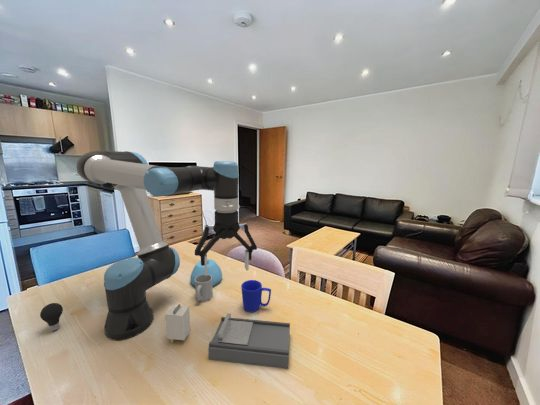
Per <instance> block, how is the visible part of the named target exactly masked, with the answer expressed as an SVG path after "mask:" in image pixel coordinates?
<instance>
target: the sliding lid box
mask: <svg viewBox="0 0 540 405" xmlns="http://www.w3.org/2000/svg"><path fill="white" fill-rule="evenodd" d="M225 317H226V316H221V318H220V323H219V325H218V327H217V328H216V331H215V333H214V335H213V337H212V338H211V341H209V343H208V349H207V350H208V351H207V352H208V360H211V361H220V362H227V363H236V364H245V365H246V364H247V365H252V366H253V365H255V366H264V367H272V368H280V369H289V360H290V358H289V356H290V354H289V353H290V336H291V334H290V332H291V331H290V329H291V323H290V322H283V321H281V322H279V321H270V320H269V321H268V320H259V319H250V318H238V317H231V320H234V321H245V322H253V327H252V331H251V335H250V338H249V342H248V346H243V345H233V344H224V343H218V333H219V331H220V328H221V326H222V324H223V322H224V320H225Z"/></svg>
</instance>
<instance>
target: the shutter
mask: <svg viewBox="0 0 540 405" xmlns="http://www.w3.org/2000/svg"><path fill="white" fill-rule="evenodd" d="M224 317H225V320H224V322H223V324H222V326H221V328H220V331H219V333H218V343H224V344H233V345H243V346H248V342H249V338H250V335H251V331H252V327H253V322H245V321H234V320H231V318H232V317H231V313H226V316H224Z"/></svg>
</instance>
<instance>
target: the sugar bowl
mask: <svg viewBox="0 0 540 405" xmlns="http://www.w3.org/2000/svg"><path fill="white" fill-rule="evenodd" d="M202 274H205V265H204V266H202V265H201V260H199V261H198V262H197V263H196V264H195V265H194V267H193V269H192V271H191V274H190V282H191V284H192V285H193V286H194V287H195V278H196V277H197V276H199V275H202ZM207 274H208V275H211V276H212V288H213V287H214V286H217V285H218V284H219V283H220V282H221V280H222V279H223V272H222V270H221V267H220V266H219V264H218V263H217V262H216V261H215V260H213V259H210V258H207Z"/></svg>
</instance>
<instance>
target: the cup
mask: <svg viewBox="0 0 540 405" xmlns="http://www.w3.org/2000/svg"><path fill="white" fill-rule="evenodd" d="M194 290H195V293H194V294H195V299H196V300H197V301H198V302H202V303H203V302H208V301H209V300H211V299H212V297H213V295H214V294H213V287H212V276H211V275H208V276H205V274H202V275H199V276H197V277H196V278H195V286H194Z"/></svg>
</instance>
